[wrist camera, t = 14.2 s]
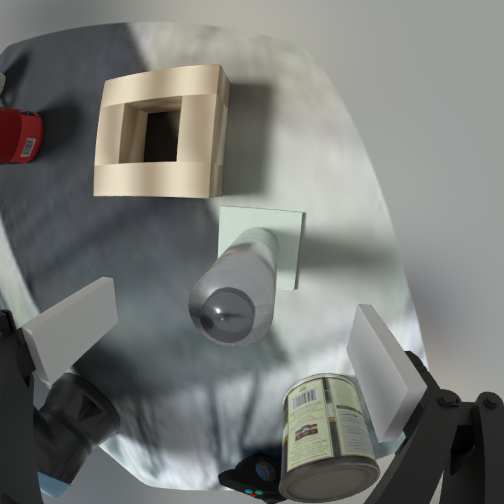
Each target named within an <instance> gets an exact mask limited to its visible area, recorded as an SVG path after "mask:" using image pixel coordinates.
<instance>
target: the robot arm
mask: <svg viewBox="0 0 504 504" xmlns="http://www.w3.org/2000/svg"><path fill="white" fill-rule="evenodd" d="M117 323H118V317H117V309H116V302H115V293H114V284H113V278H106V277H101V278H100V279H98V280H96V281H94V282H93V283H91V284H89V285H88V286H86V287H84V288H82V289H81V290H79V291H77V292H76V293H74V294H72V295H71V296H69V297H67V298H66V299H64V300H62V301H61V302H59V303H57V304H56V305H54V306H53V307H51V308H49V309H48V310H46V311H45V312H43V313H41V314H40V315H38V316H37V317H35V318H34V319H32V320H30V321H29V322H27V323H26V324H24V325H23V326H21V328H19V329H17V330H16V327H15V323H14V320H13V316H12V312H11V311H9V310H0V504H44V503H43V500H42V496H41V491H42V492H44V493H45V494H47V495H49V496H51V497H54V498H59V497H61V496H62V495H63V494H64V492H65V491H66V490H67V489H68V488H69V487H70V486H71V485H70V484H71V483H72V481H73V480H74V478H75V477H76V475H77V473H78V472H79V470H80V469H81V467H82V465H83V464H84V463H85V461H86V459H87V458H88V456H89V455H90V453H91V452H92V450H93V449H94V448H95V447H97V446H98V445H100V444H101V443H103V442H104V441H106V440H107V439H108V438H110V437H112V436H113V435H114V434H115V433H116V431H117V430H118V428H119V426H120V419H119V416H118V414H117V412H116V411H115V409H114V408H113V406H112V405H111V404H110V402H109V401H108V400H107V399H106V398H105V397H104V396H103V395H102V394H101V393H100V392H99V391H98V390H97V389H96V388H95V387H93V386H92V385H91V384H89V383H88V382H87V381H85V380H84V379H82V378H80V377H78V376H76V375H74V374H70V373H65V372H66V371H67V370H68V369H69V368H70V367H71V366H72V365H73V364H74V363H75V362H76V361H77V360H78V359H79V358H80V357H81V356H82V355H83V354H84V353H85V352H86V351H88V350H89V349H90V348H91V347H92V346H93V345H94V344H95V343H96V342H97V341H98V340H99V339H100V338H101V337H103V336H104V335H105V334H106V333H107V332H108V331H109V330H110V329H111V328H112V327H113V326H114V325H116V324H117ZM346 350H347V353H348V355H349V358H350V361H351V363H352V366H353V369H354V371H355V374H356V377H357V380H358V382H359V385H360V388H361V391H362V394H363V397H364V399H365V402H366V405H367V408H368V411H369V414H370V417H371V420H372V423H373V426H374V429H375V432H376V436H377V439H378V442H379V443H382V442H389V441H395V440H397V439H398V437H399V436H400V434H401V433H402V431H404V433H405V436H406V438H405V440H404V441H403V443H402V444H401V446H400V447H399V449H398V450H397V451H396V453H395V457H394V459H393V461H392V462H391V464H390V466H389V467H388V469H387V471H386V472H385V474H384V475H383V477H382V478H381V480H380V481H379V483H378V484H377V486H376V487H375V489H374V490H373V492H372V493H371V494H370V496H369V497H368V498H367V500H366V501H365V503H364V504H429V503H430V501H431V499H432V496H433V495H434V492H435V490H436V488H437V485H438V483H439V480H440V478H441V475H442V473H443V470H444V473H443V482H442V489H441V496H440V502H439V504H504V404H503V401H502V399H501V398H500V397H499V396H498V395H497V394H495V393H492V392H483V393H481V394H480V395H479V396H478V398H477V400H476V401H475V402H461V399H460V398H459V396H458V395H457V394H456V393H454V392H452V391H450V390H445V389H440V387H439V386H438V385H437V383H436V381H435V380H434V379H433V377H432V376H431V374H430V373H429V371H427V368H426V367H425V366H423V363H422V361H421V360H420V359H419V357H418V356H416V355H415V354H414V353H412V352H411V351H404V350H403V349H402V347H401V346H400V344H399V343H398V342H397V340H396V339H395V337H394V336H393V334H392V333H391V332H390V330H389V329H388V327H387V326H386V325H385V323H384V322H383V320H382V319H381V318H380V316H379V315H378V313H377V312H376V311H375V309H374V308H373V307H372V305H365V304H357V309H356V313H355V318H354V322H353V326H352V330H351V334H350V338H349V342H348V346H347V349H346ZM35 370H36V371H37V374H38V376H39V378H40V380H41V381H43V382H45V383H47V384H48V385H50V386H51V385H52V388H51V390H50V391H49V394H48V396H47V398H46V401H45V403H44V405H43V406H42V407H41V408H40V409H39V410H37V408H36V407H35V406H34V404H33V391H34V377H33V374H32V372H33V371H35ZM40 490H41V491H40Z"/></svg>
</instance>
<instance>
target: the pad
mask: <svg viewBox="0 0 504 504" xmlns="http://www.w3.org/2000/svg"><path fill="white" fill-rule="evenodd" d="M301 222H302V212H294V211H283V210H271V209H259V208H246V207H231V206H220V223H219V246H218V258H219V257H220V256H221V255H222V254H223V253H224V252H225V251H226V249H227V248H228V247H229V246H230V245H231V244H232V243H233V242H234V241H235V240H236V238H237V237H238V236H239V235H240V234H241V233H242V232H243V231H245V230H247V229H249V228H252V227H261V228H264V229H267V230H268V231H270V232H271V233H272V234H273V235H274V236H275V237H276V239H277V241H278V244H279V259H278V270H277V282H276V289H282V290H293V291H294V285H295V277H296V269H297V260H298V251H299V242H300V232H301Z"/></svg>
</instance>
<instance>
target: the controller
mask: <svg viewBox="0 0 504 504" xmlns="http://www.w3.org/2000/svg"><path fill="white" fill-rule="evenodd" d="M256 465H257V466H259V467H261V468H262V469H263V470H264V471H265V473H266V475H267V481H265V480H263V479H261V478H260V477H259V476H258V474H257V472H256V468H255V467H256ZM218 478H219V482H220V484H221V485H223V486H226V487H228V488H231V489H233V490H236V491H239V492H242V493H245V494H248V495H250V496H252V497H254V498H257V499H261V500H263V501H264V502H266V503H267V504H276V503H278V502H282V501H285V500H287V498H285V497H284V496H282V495H281V494H280V492H279V483H280V481H281V466H280V465H279V464H278V463H277V462H276V461H275V460H273V459H271V458H269V457H266V456H263V455H253V456H250V457H247V458H245V459H243V460H242V461H241V462H239V463H238V465H237V466H236V467H235V469H230V470H226V471H224V472H222V473H220V474H219V475H218Z"/></svg>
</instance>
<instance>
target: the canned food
mask: <svg viewBox="0 0 504 504" xmlns="http://www.w3.org/2000/svg"><path fill="white" fill-rule="evenodd" d="M43 130H44V127H43V120H42V118H41V117H40V115H38V114H37V113H35V112H30V111H24V110H18V109H12V108H5V107H0V165H6V164H24V163H27V162H29V161H31V160H32V159H33V158H34V157H35V156H36V154H37V152H38V150H39V148H40V146H41V142H42V138H43Z"/></svg>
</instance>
